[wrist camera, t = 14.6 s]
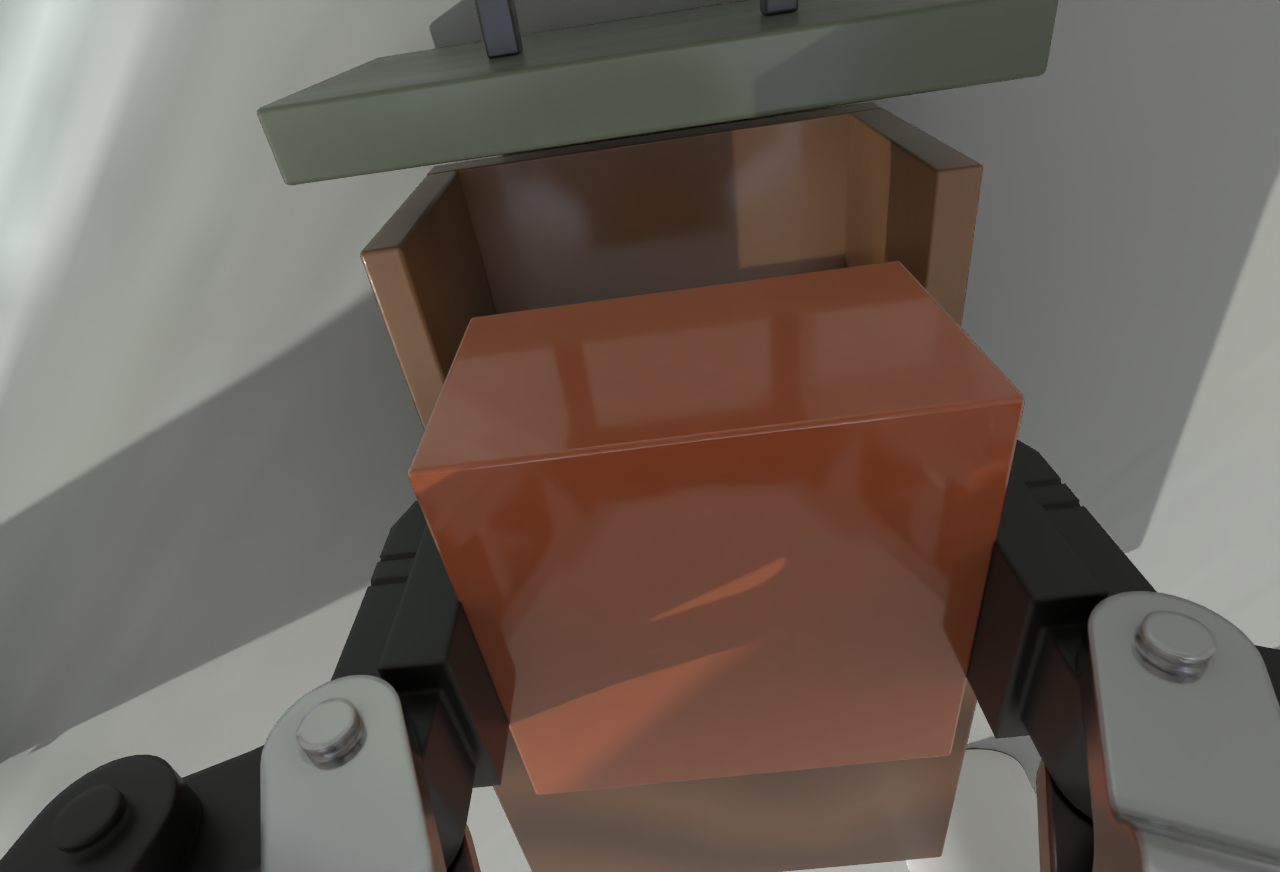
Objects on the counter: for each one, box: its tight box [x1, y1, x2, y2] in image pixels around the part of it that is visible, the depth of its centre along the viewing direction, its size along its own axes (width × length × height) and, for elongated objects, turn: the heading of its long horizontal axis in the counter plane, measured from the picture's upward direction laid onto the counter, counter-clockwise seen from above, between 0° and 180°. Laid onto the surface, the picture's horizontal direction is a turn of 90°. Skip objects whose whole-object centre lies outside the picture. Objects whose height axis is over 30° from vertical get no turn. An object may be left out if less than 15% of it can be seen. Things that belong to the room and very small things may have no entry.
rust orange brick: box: [408, 261, 1025, 795], centre depth 9 cm, size 6×6×3 cm
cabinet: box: [493, 680, 977, 872], centre depth 23 cm, size 16×14×9 cm
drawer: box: [257, 0, 1058, 431], centre depth 16 cm, size 20×12×7 cm, turn 8°
